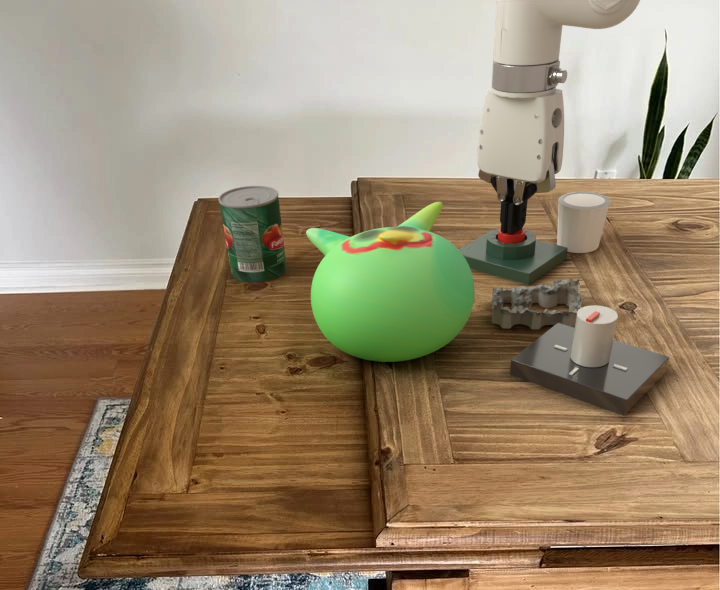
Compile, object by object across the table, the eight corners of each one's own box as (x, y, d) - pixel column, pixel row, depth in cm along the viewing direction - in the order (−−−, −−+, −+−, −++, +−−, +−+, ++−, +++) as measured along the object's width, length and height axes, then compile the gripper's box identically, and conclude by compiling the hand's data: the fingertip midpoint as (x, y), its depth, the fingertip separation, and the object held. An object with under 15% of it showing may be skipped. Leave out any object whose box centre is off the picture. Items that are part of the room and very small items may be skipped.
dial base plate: (664, 377, 78) (670, 355, 76) (622, 421, 72) (627, 398, 70) (555, 341, 85) (558, 321, 83) (508, 379, 79) (510, 358, 77)
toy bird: (325, 396, 78) (312, 266, 69) (309, 323, 91) (296, 204, 82) (488, 375, 80) (497, 244, 70) (449, 306, 93) (453, 187, 83)
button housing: (566, 262, 101) (569, 234, 98) (528, 289, 95) (531, 260, 93) (491, 243, 107) (493, 216, 104) (452, 267, 101) (453, 239, 99)
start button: (529, 241, 99) (530, 228, 98) (515, 250, 97) (516, 237, 96) (506, 235, 101) (507, 223, 100) (492, 244, 99) (493, 231, 98)
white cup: (571, 262, 101) (579, 212, 96) (542, 245, 106) (548, 196, 101) (612, 252, 103) (621, 202, 98) (581, 236, 107) (589, 187, 103)
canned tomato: (227, 268, 105) (213, 190, 98) (280, 259, 107) (270, 181, 100) (237, 291, 99) (223, 209, 92) (293, 280, 101) (284, 200, 94)
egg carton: (579, 309, 90) (584, 277, 88) (579, 339, 85) (585, 306, 82) (492, 304, 92) (494, 273, 90) (487, 332, 87) (489, 301, 84)
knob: (581, 344, 79) (588, 299, 75) (616, 355, 77) (625, 309, 73) (563, 359, 77) (570, 313, 73) (598, 371, 75) (607, 325, 71)
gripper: (598, 76, 84) (576, 232, 96) (488, 65, 92) (480, 210, 104) (566, 90, 80) (547, 252, 92) (453, 77, 88) (449, 227, 100)
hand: (511, 229), depth 98 cm, fingers closed
